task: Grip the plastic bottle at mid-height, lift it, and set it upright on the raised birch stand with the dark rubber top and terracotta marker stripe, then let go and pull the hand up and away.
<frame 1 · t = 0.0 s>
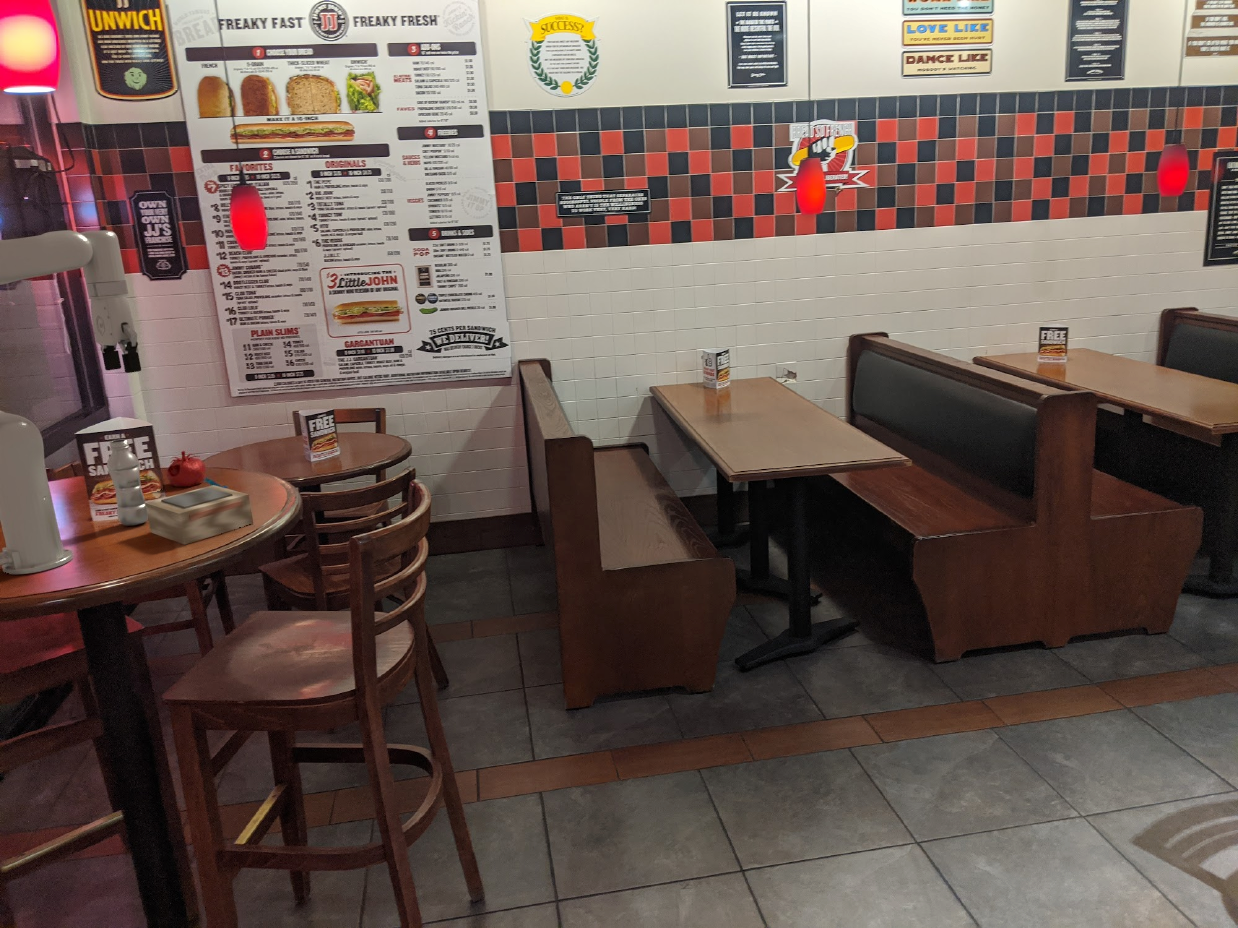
hand: (123, 370, 199), 37 cm above the table, tool pointing down, fingers open, 9 cm apart
plastic bottle: (135, 524, 215), on the table
pomegranate: (188, 484, 249), on the table
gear: (225, 505, 227), on the table
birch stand: (202, 528, 209), on the table
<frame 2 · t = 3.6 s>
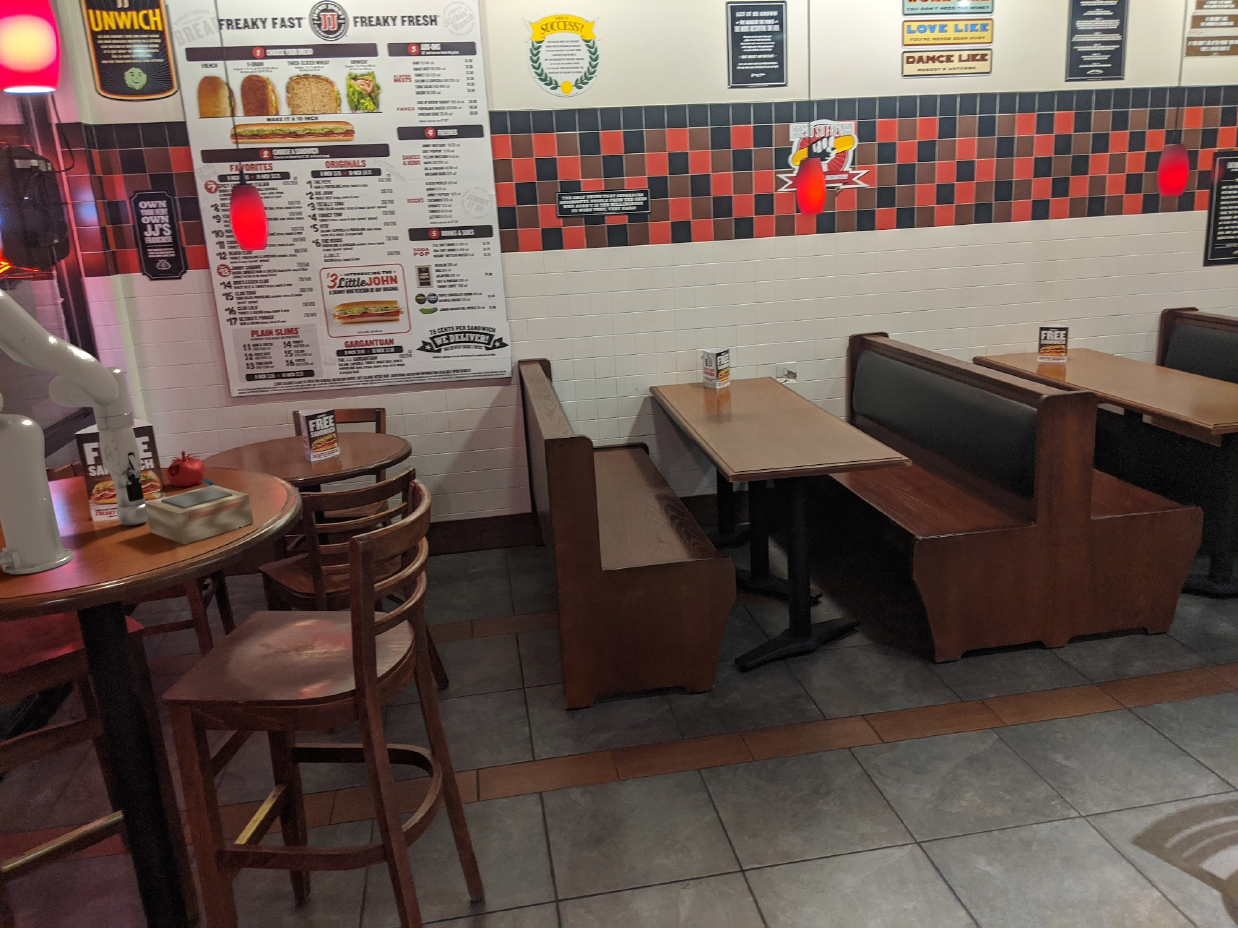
hand: (130, 497, 213), 7 cm above the table, tool pointing down, fingers closed on plastic bottle, 5 cm apart
plastic bottle: (135, 524, 215), on the table, touching gripper
everything else where it was.
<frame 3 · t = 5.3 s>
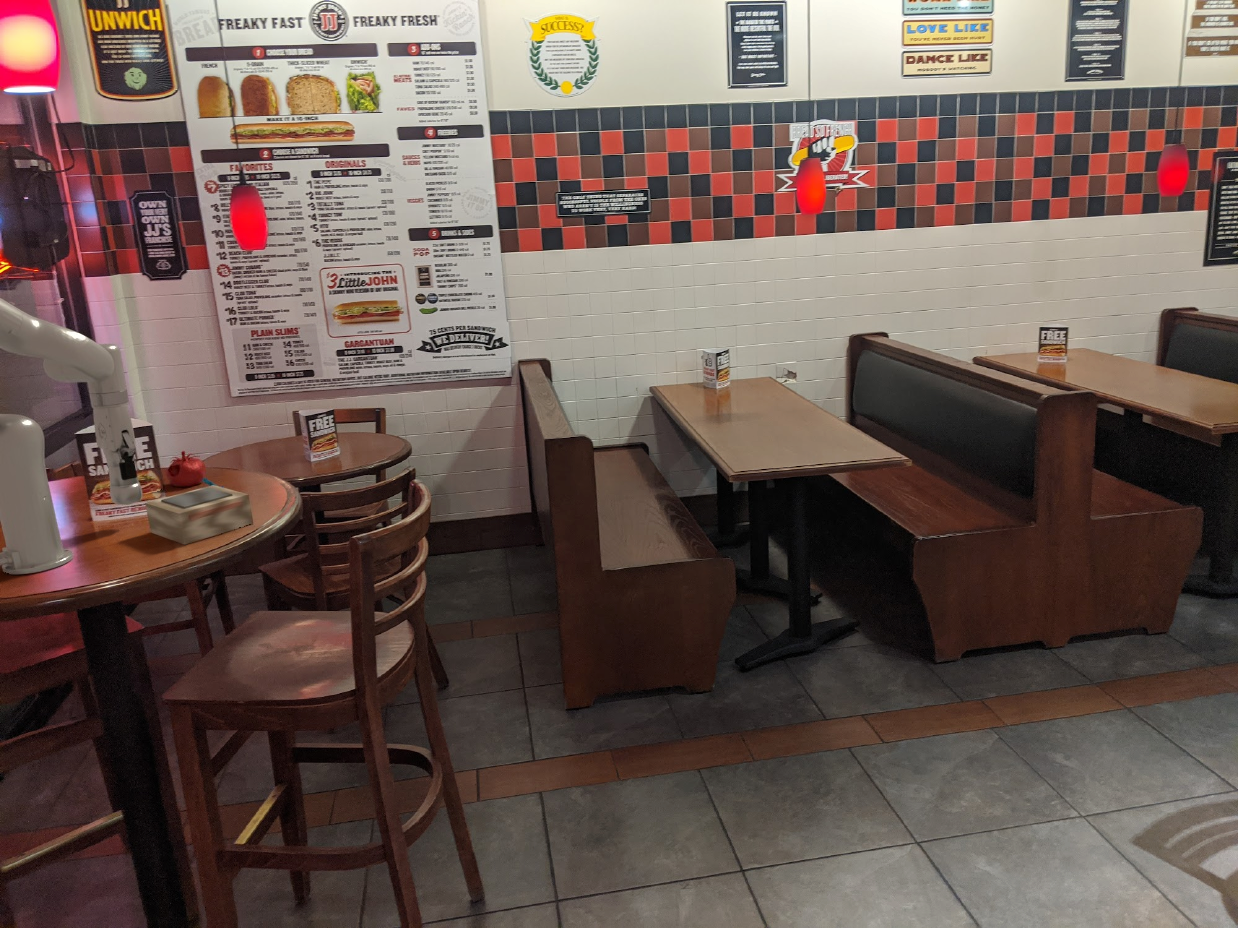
hand: (123, 476, 211), 12 cm above the table, tool pointing down, fingers closed on plastic bottle, 5 cm apart
plastic bottle: (128, 504, 213), point 5 cm above the table, touching gripper
everything else where it was.
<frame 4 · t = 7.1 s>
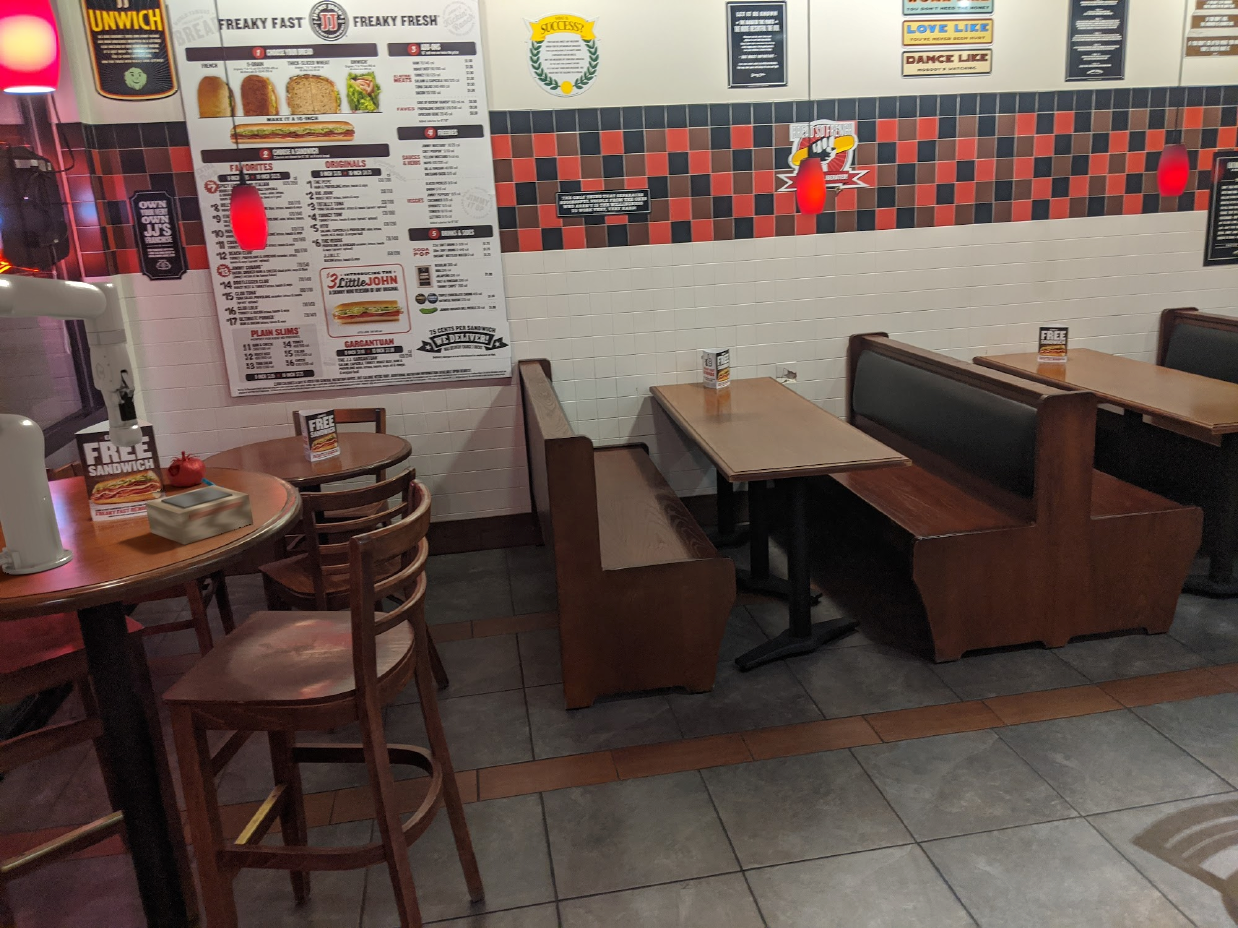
hand: (122, 418, 207), 25 cm above the table, tool pointing down, fingers closed on plastic bottle, 5 cm apart
plastic bottle: (128, 447, 209), point 19 cm above the table, touching gripper
everything else where it was.
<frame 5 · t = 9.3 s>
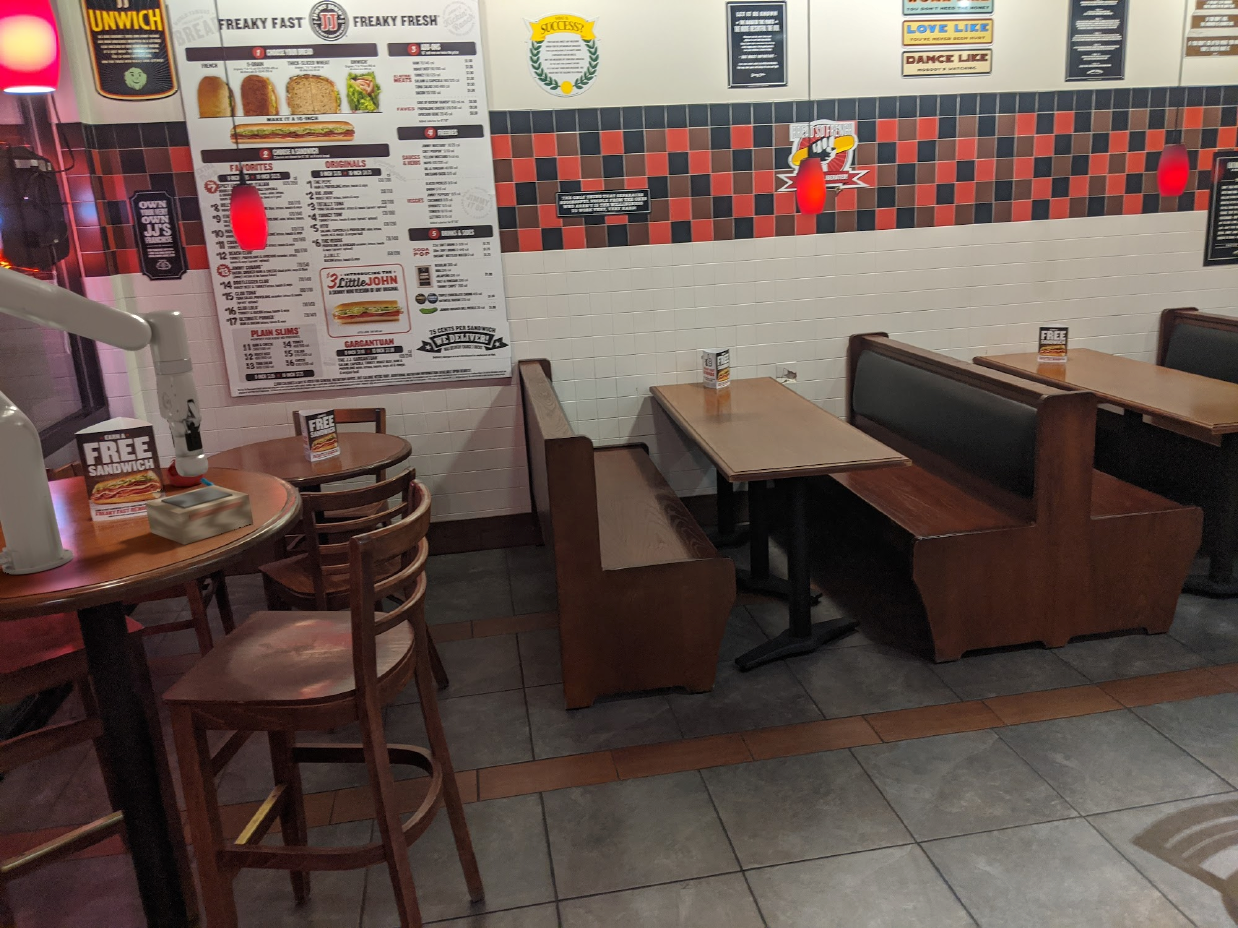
hand: (188, 447, 204), 19 cm above the table, tool pointing down, fingers closed on plastic bottle, 5 cm apart
plastic bottle: (193, 476, 206), point 12 cm above the table, touching gripper
everything else where it was.
when the fingers open (16 cm above the table, at t = 10.7 s): plastic bottle drops 2 cm, resting on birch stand.
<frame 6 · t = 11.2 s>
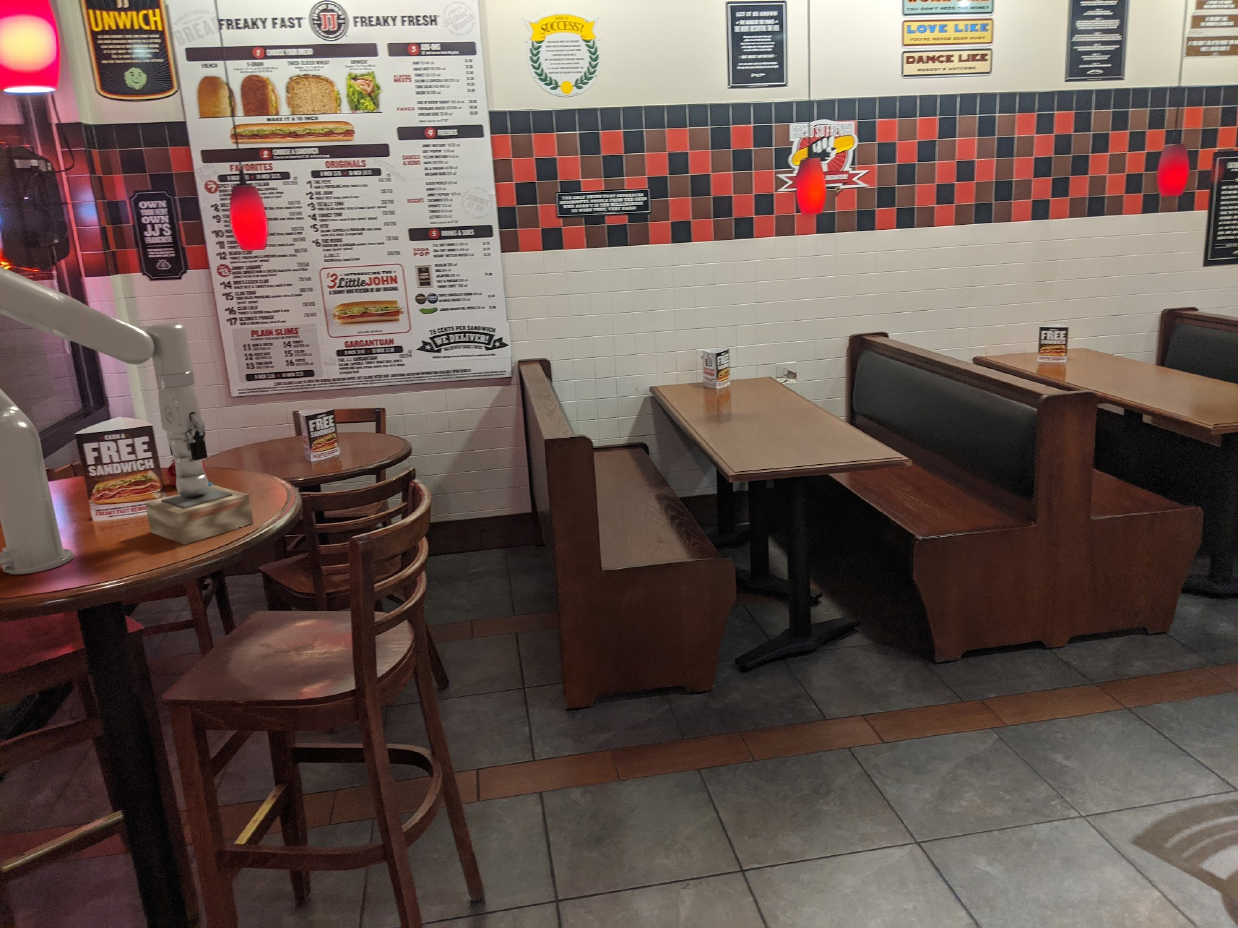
hand: (189, 456, 204), 17 cm above the table, tool pointing down, fingers open, 9 cm apart
plastic bottle: (194, 496, 208), point 7 cm above the table, touching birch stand, gripper
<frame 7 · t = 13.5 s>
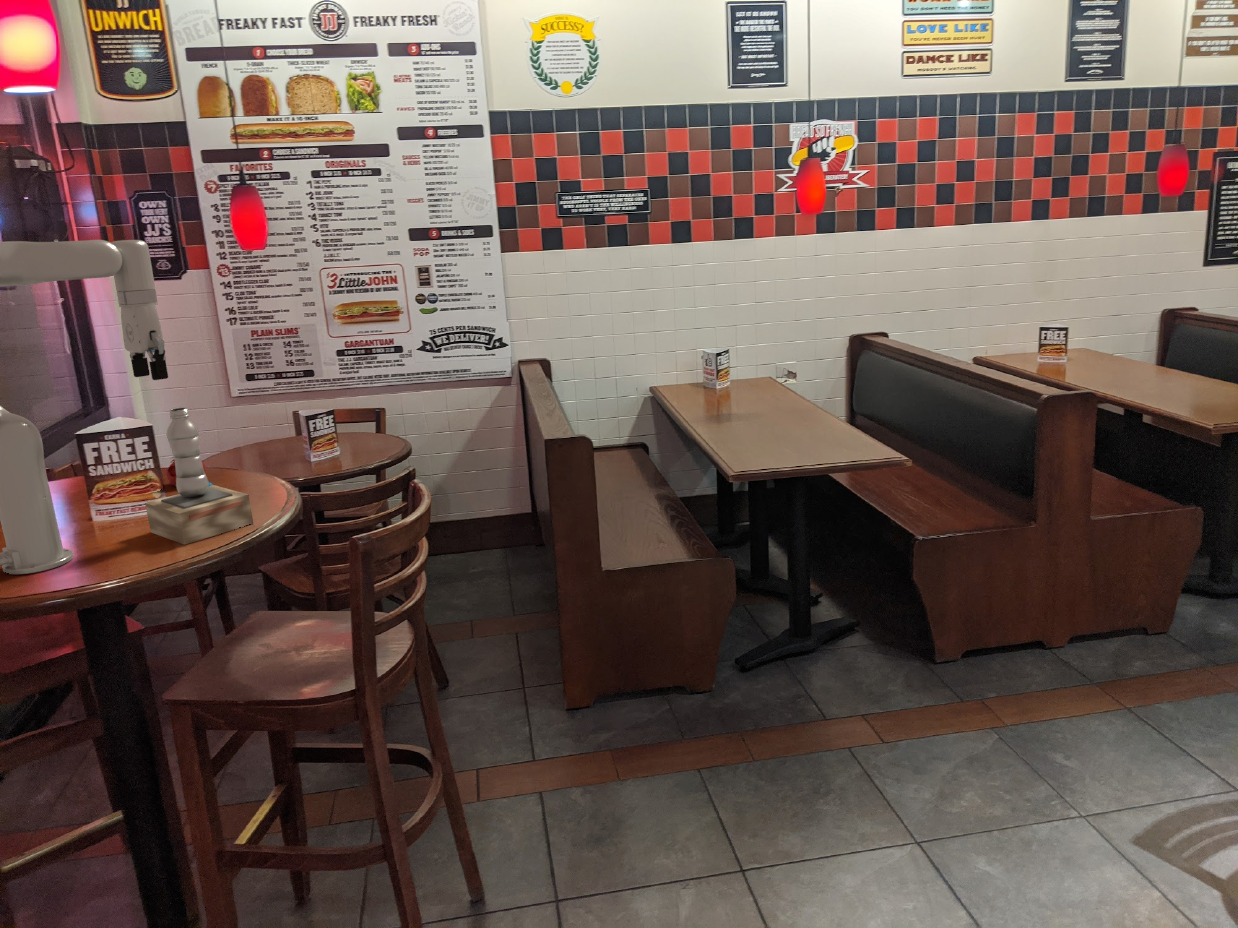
hand: (151, 377, 202), 35 cm above the table, tool pointing down, fingers open, 9 cm apart
plastic bottle: (194, 496, 208), point 7 cm above the table, touching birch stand
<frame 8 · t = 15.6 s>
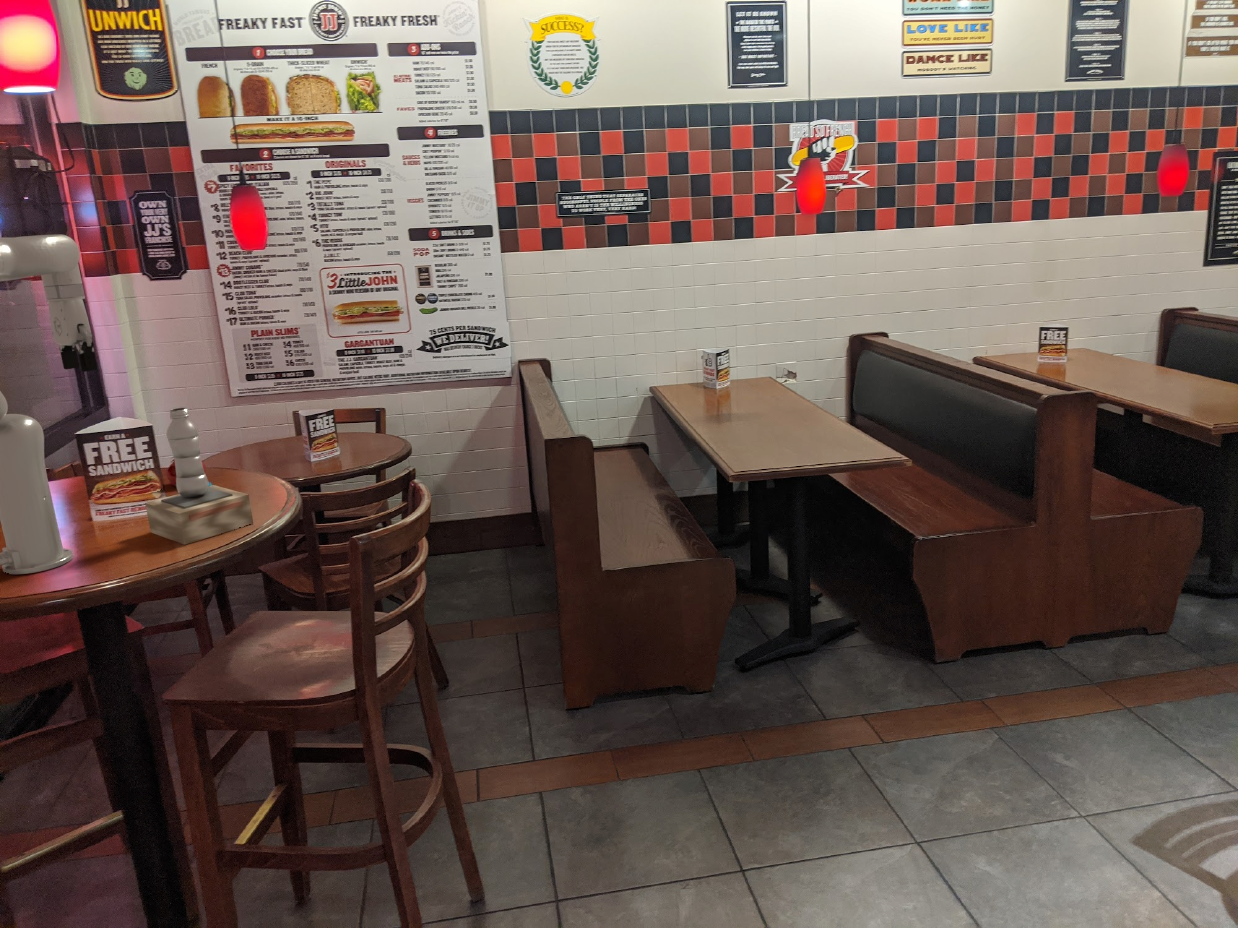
hand: (80, 369, 209), 36 cm above the table, tool pointing down, fingers open, 9 cm apart
at the end: plastic bottle inside the target area on the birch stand (1.3 cm from its centre), point 7.2 cm above the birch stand's base; plastic bottle tilted 0°; the gripper is holding nothing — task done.
